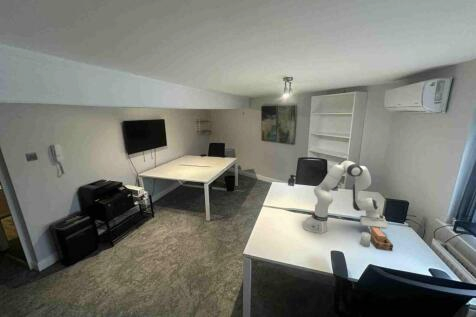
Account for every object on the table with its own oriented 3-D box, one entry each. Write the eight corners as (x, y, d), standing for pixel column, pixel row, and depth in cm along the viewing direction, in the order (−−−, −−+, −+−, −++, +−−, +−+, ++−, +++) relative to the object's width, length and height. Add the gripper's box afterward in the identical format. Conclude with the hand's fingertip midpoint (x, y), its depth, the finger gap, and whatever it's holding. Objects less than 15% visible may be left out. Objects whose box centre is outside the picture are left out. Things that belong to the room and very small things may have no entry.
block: (376, 244, 152) (378, 235, 151) (370, 235, 164) (371, 227, 162) (383, 245, 151) (385, 236, 149) (376, 235, 163) (378, 227, 161)
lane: (375, 248, 147) (376, 243, 146) (369, 239, 159) (370, 233, 158) (392, 250, 145) (393, 245, 144) (384, 240, 156) (385, 235, 155)
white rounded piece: (361, 246, 150) (363, 236, 148) (358, 241, 157) (360, 231, 154) (370, 247, 149) (372, 237, 147) (367, 242, 155) (369, 232, 153)
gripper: (360, 214, 167) (363, 230, 160) (386, 216, 162) (390, 233, 155) (357, 216, 172) (360, 231, 165) (383, 218, 167) (387, 234, 160)
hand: (375, 232), depth 160 cm, fingers closed on block, 5 cm apart
